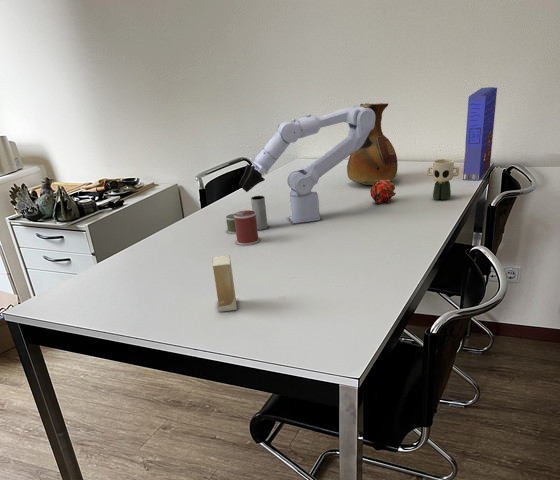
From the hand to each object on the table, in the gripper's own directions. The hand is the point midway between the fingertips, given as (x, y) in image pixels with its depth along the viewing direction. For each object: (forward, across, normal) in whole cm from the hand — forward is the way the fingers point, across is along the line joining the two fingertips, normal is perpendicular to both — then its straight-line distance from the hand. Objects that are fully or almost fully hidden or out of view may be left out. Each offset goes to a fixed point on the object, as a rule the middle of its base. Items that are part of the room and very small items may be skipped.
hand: (242, 188), depth 194 cm
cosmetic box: (+23, +60, +4) cm, 64 cm away
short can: (+12, -1, +8) cm, 14 cm away
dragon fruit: (-29, -8, +44) cm, 53 cm away
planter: (+6, 0, +13) cm, 15 cm away
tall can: (+11, +12, +10) cm, 19 cm away
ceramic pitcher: (-34, -36, +46) cm, 68 cm away
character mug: (-43, -2, +58) cm, 72 cm away
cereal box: (-65, -28, +74) cm, 102 cm away
